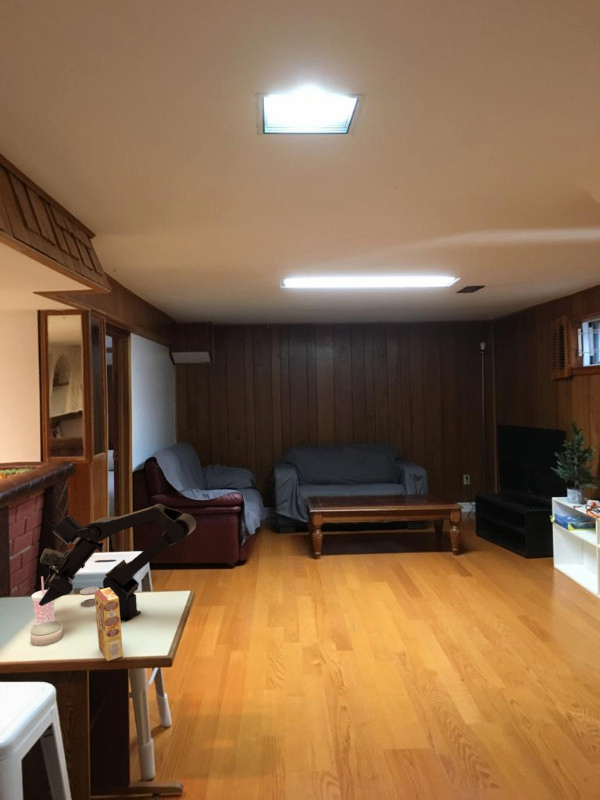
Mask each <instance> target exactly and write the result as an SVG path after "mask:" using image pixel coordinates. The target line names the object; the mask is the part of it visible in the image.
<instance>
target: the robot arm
mask: <svg viewBox="0 0 600 800" xmlns="http://www.w3.org/2000/svg"><path fill="white" fill-rule="evenodd" d="M149 522H150V523H151V522H155V523H157V524H158V525H159V527H160V528H162V529H163V530H164V531H163V533H162V534H161V536H160V537H158V538H157V539H156V540H155V541H154V542H152V543H151V544H150V545H148V546H147V547H146V548H145V549H144V550H142V551H141V553H139V554H138V555H137V556H135V558H133V559H132V560H130V561H128V562H126V560H125V559H123V560H121V561H120V562H119V563H118V564H116V565H115V566H114V567H113V568H112V569H110V570H109V571H108V572H106V573H105V574H104V575H105V577H104V578H103V580H102V586H103V589H105V588H110V589H111V590H112V591H113V592H114V593H115V594H116V595H117V596H118V598H119V609H120V622H125V623H126V622H128V621H130V620H132V619H134V618H135V617H137V616H139V615H141V613H142V611H141V610H138V603H137V593H136V594H135V592H136V591H138V589H139V585H140V583H139V582H138V581H137V580H136V578H134V577H135V576H136V575H137V573H138V572H139V571H140V570H142V569H143V568H144V567H146V566H147V565H148V564H149V563H151V561H152V560H154V559H155V558H156V557H158V556H159V555H160V554H161V553H162V552H164V550H166V549H167V548H168V547H170V546H172V545H174V544H177V543H178V542H180V541H182V540H184V539H186V538H187V537H188V536H190V534H191V533H192V532H193V531H194V530H196V528H197V522H196V519H195V517H194V516H193V515H191V514H189V513H183V512H182V511H180V510H177V509H174V508H170V507H168V506H166V505H164V504H162V503H157V504H155V505H153V506H150V507H149V506H148V507H147V508H143V509H141V510H140V509H139V510H137V511H133V512H130V513H127V514H124V515H120V516H104V517H101V518H98V519H97V520H96V519H95V521H93V522H91V523H87V524H86V525H84V526H83V525H82V523H80V522H79V521H78V520H76V518H75V517H74V516H73V515H71V514H68V515H67V516H66V517H65V518H63V520H61V522H59V523H58V524H57V525H55V526H54V528H53V529H52V533H54V535H55V536H57V537H58V538H59V539H60V540H62V541H63V542H64V543H65V545H68V546H69V545H71V544H72V545H73V547H72V548H71V549H66V551H65V552H64V553H63V552H60V551H57V550H55V549H51V548H44V550H43V552H42V554H41V556H40V559H39V560H40V561H39V563H40V564H43V565H49V575H48V577H47V578H46V580H45V581H44V582H43V584H44V590H47V591H46V593H45V594H44V596H43V597H42V599H41V601H40V602H39V605H40V606H43V605H45V604H47V603H49V602H51V601H53V600H54V601H56V600H58V599H60V598H62V597H63V596H66V595H67V596H68V595H70V593H72V591H73V589H74V588H73V587H74V586H73V580H75V578H76V574H77V573H78V572H80V570H81V569H84V568H85V567H86V563H87V562H88V561H89V559H90V558H91V557H92V556H93V555H94V554H95V553H96V551H98V552H100V553H103V552H105V551H106V548H105V546H106V542H104V541H103V540H106V539H107V538H109V537H111V536H113V535H114V534H116V533H118V532H120V531H123V530H128V529H131V528H133V527H137V526H140V525H144V524H147V523H149ZM101 541H103V542H101ZM39 591H42V588H41V589H40V590H39Z"/></svg>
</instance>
